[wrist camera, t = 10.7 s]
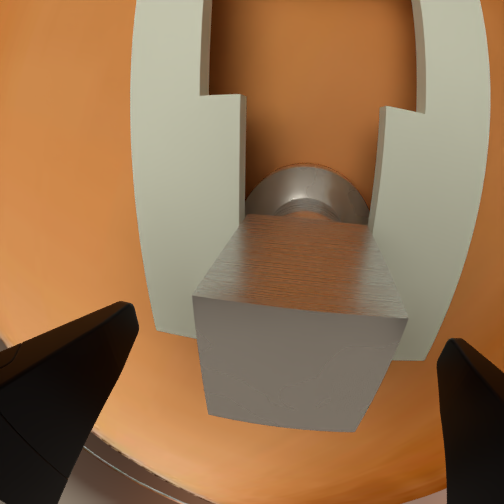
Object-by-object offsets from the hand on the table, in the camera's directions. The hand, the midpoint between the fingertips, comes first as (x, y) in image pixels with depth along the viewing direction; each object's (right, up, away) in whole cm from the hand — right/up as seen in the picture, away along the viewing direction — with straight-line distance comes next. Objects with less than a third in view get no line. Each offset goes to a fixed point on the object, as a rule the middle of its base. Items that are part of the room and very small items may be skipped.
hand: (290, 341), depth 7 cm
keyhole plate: (+2, +8, +5) cm, 10 cm away
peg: (+2, +4, +8) cm, 9 cm away
